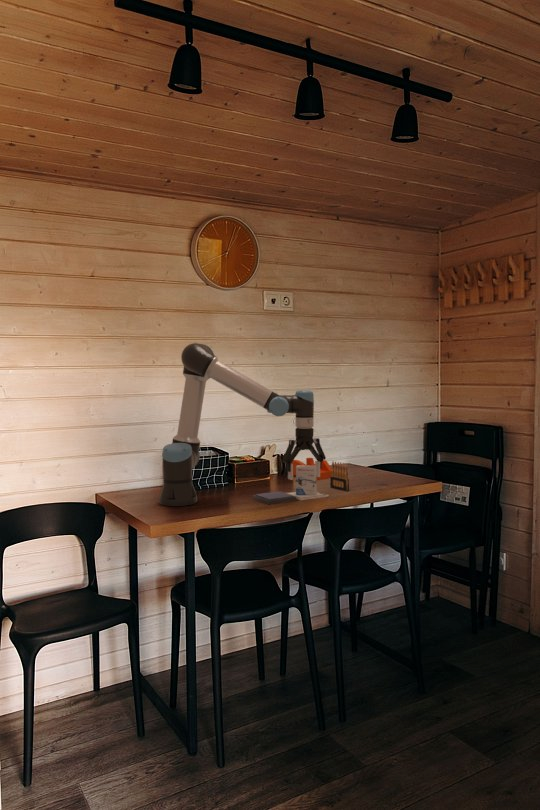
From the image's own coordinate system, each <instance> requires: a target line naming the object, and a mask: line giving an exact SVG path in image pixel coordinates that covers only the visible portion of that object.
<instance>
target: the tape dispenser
mask: <svg viewBox="0 0 540 810" xmlns="http://www.w3.org/2000/svg"><path fill="white" fill-rule="evenodd" d="M305 460H306V462H303V461H301V460H299V459H298V460H297V459H294V460H293V461H292V463H291V464H293V478H294V477H295V478H296V466H297V465H313V466H315V461H314V458H313V457H306V458H305ZM331 469H332V466H330V464H329V462H328V460H326V459H325V460H323V462H322V468H321V469H320V477H316V478H317V480H316V481H317V482H318V481H323V479H324V480H329V479H328V478H331Z"/></svg>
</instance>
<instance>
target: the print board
mask: <svg viewBox="0 0 540 810" xmlns="http://www.w3.org/2000/svg"><path fill="white" fill-rule="evenodd" d="M285 493H286V494H289V495H292V496H295V497H296V500H298V501H305V500H312V499H318V498H319V499H320V498H327V497H329V496H330V495H329V494H326V493H323V492H320V491H317V494H316V495H296V490H295V491H289V492H285Z"/></svg>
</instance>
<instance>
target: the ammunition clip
mask: <svg viewBox="0 0 540 810" xmlns="http://www.w3.org/2000/svg"><path fill="white" fill-rule="evenodd" d="M331 468H332V469H331V478H330V480H329V481H330V483H329V484H330V488H331V489H334V490H339V491H343V492H350V479H349V472H348V464H347V463H344V462H339V461H338V462H337V461H331Z"/></svg>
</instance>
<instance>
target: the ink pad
mask: <svg viewBox="0 0 540 810" xmlns="http://www.w3.org/2000/svg"><path fill="white" fill-rule="evenodd" d="M286 493H287V492H283V491H281V490H278V491H271V492H264V493H263V492H262V493H255V494H253V495H252V500H254V501H258V502H261V503H262V504H267V505H276V504H282V503H290V502H296V501H297V499H296V497H295V496H292V495H289V494H286Z"/></svg>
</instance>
